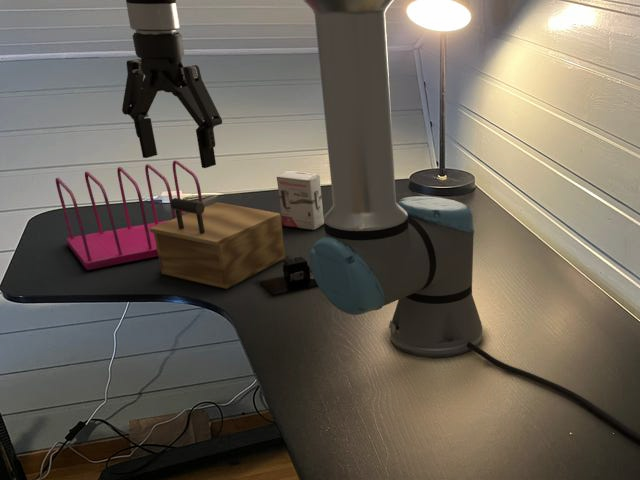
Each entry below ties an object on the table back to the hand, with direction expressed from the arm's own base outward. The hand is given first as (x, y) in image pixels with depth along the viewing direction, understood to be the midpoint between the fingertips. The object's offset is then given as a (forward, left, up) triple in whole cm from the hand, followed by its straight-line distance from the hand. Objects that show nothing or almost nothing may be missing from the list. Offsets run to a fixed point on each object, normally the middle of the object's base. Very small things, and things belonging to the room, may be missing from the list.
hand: (179, 161), depth 130 cm
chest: (0, -7, -22) cm, 23 cm away
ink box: (+1, -35, -23) cm, 41 cm away
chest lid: (0, -7, -14) cm, 15 cm away
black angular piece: (-18, -6, -23) cm, 30 cm away
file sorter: (+23, -7, -23) cm, 33 cm away
